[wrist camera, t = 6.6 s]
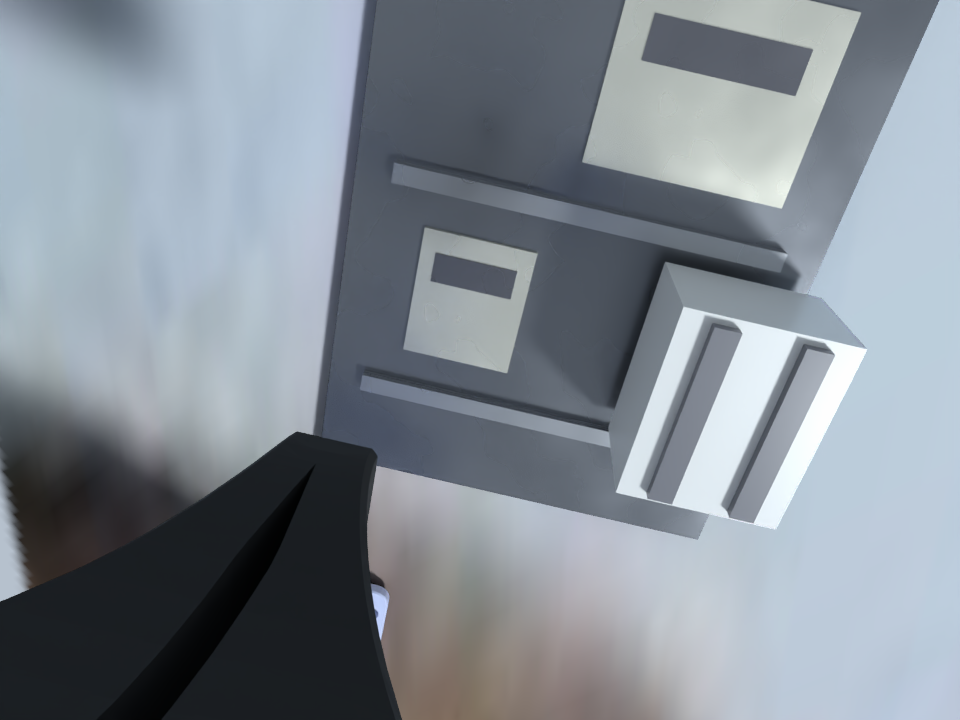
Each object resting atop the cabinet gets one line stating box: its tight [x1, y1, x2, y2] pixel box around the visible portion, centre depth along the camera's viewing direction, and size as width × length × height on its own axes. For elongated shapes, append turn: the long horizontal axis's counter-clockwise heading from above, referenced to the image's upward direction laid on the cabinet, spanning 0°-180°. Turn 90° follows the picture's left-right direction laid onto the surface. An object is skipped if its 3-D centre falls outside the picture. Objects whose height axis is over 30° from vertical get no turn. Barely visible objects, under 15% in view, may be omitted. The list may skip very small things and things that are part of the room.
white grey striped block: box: [608, 262, 867, 530], centre depth 18 cm, size 5×4×3 cm
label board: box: [322, 0, 939, 540], centre depth 19 cm, size 16×12×1 cm
